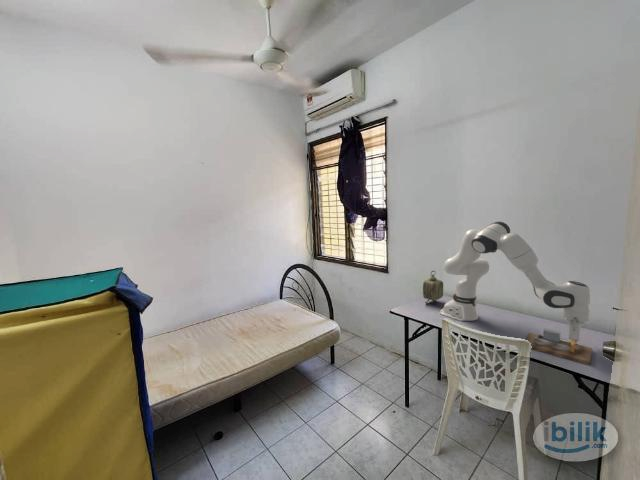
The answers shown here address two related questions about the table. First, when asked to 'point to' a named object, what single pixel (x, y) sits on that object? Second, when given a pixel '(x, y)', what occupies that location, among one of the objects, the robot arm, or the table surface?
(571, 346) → the latch gate
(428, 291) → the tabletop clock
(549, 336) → the module
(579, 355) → the rail base
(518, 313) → the table surface
